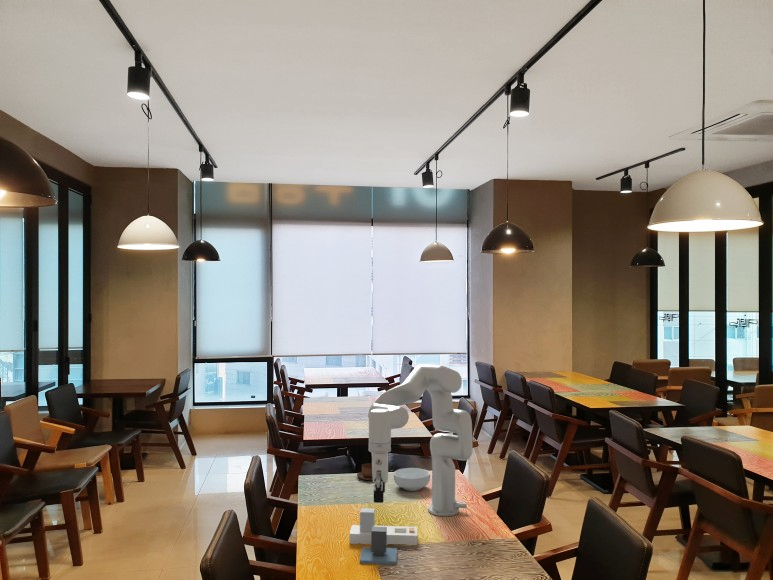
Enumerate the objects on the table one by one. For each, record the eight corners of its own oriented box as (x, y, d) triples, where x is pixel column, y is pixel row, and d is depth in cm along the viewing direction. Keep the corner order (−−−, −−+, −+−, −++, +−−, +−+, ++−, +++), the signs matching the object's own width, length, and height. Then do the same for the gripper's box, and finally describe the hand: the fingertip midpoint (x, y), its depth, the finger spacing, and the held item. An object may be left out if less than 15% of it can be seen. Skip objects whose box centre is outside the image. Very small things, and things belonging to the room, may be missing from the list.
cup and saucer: (359, 473, 289) (359, 461, 289) (383, 475, 287) (383, 462, 287) (354, 481, 277) (354, 468, 277) (379, 482, 275) (379, 469, 275)
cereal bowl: (412, 480, 280) (412, 465, 280) (437, 488, 267) (437, 473, 267) (385, 487, 268) (386, 472, 268) (411, 497, 256) (411, 480, 256)
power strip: (417, 536, 214) (417, 525, 214) (417, 545, 206) (417, 533, 206) (351, 534, 215) (351, 523, 215) (349, 543, 207) (349, 532, 207)
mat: (396, 551, 201) (396, 548, 201) (396, 564, 191) (396, 561, 191) (362, 550, 201) (362, 547, 202) (359, 563, 192) (359, 560, 192)
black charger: (386, 551, 198) (386, 526, 198) (386, 556, 194) (386, 531, 194) (371, 551, 198) (372, 526, 199) (371, 556, 194) (371, 531, 195)
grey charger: (374, 531, 212) (374, 508, 212) (373, 536, 208) (374, 512, 208) (360, 531, 213) (361, 508, 213) (359, 535, 209) (360, 512, 209)
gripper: (389, 453, 188) (389, 506, 188) (391, 440, 205) (391, 488, 205) (366, 453, 188) (366, 506, 188) (370, 439, 205) (370, 488, 205)
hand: (379, 497), depth 197 cm, fingers open, 9 cm apart
